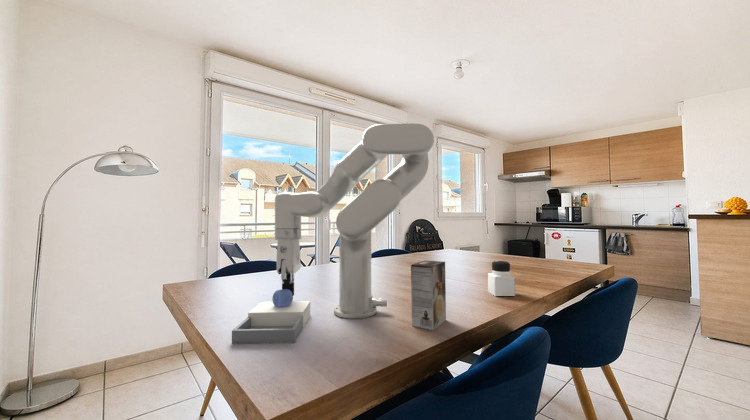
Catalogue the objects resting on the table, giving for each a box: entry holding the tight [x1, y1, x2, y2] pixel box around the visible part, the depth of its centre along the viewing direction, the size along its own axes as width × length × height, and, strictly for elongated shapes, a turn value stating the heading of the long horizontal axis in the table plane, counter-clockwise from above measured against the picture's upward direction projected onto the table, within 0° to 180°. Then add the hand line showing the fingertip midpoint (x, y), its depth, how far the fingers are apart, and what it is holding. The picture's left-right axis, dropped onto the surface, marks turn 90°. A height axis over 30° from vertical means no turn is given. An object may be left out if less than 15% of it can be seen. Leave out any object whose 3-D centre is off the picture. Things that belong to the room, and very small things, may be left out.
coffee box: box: [410, 259, 447, 331], centre depth 81 cm, size 9×6×16 cm
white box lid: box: [247, 300, 311, 328], centre depth 83 cm, size 14×10×4 cm
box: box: [231, 316, 304, 345], centre depth 73 cm, size 14×9×3 cm, turn 92°
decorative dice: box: [271, 288, 294, 308], centre depth 84 cm, size 4×4×4 cm
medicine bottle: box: [487, 260, 516, 297], centre depth 110 cm, size 7×7×12 cm
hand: (288, 296), depth 90 cm, fingers closed
